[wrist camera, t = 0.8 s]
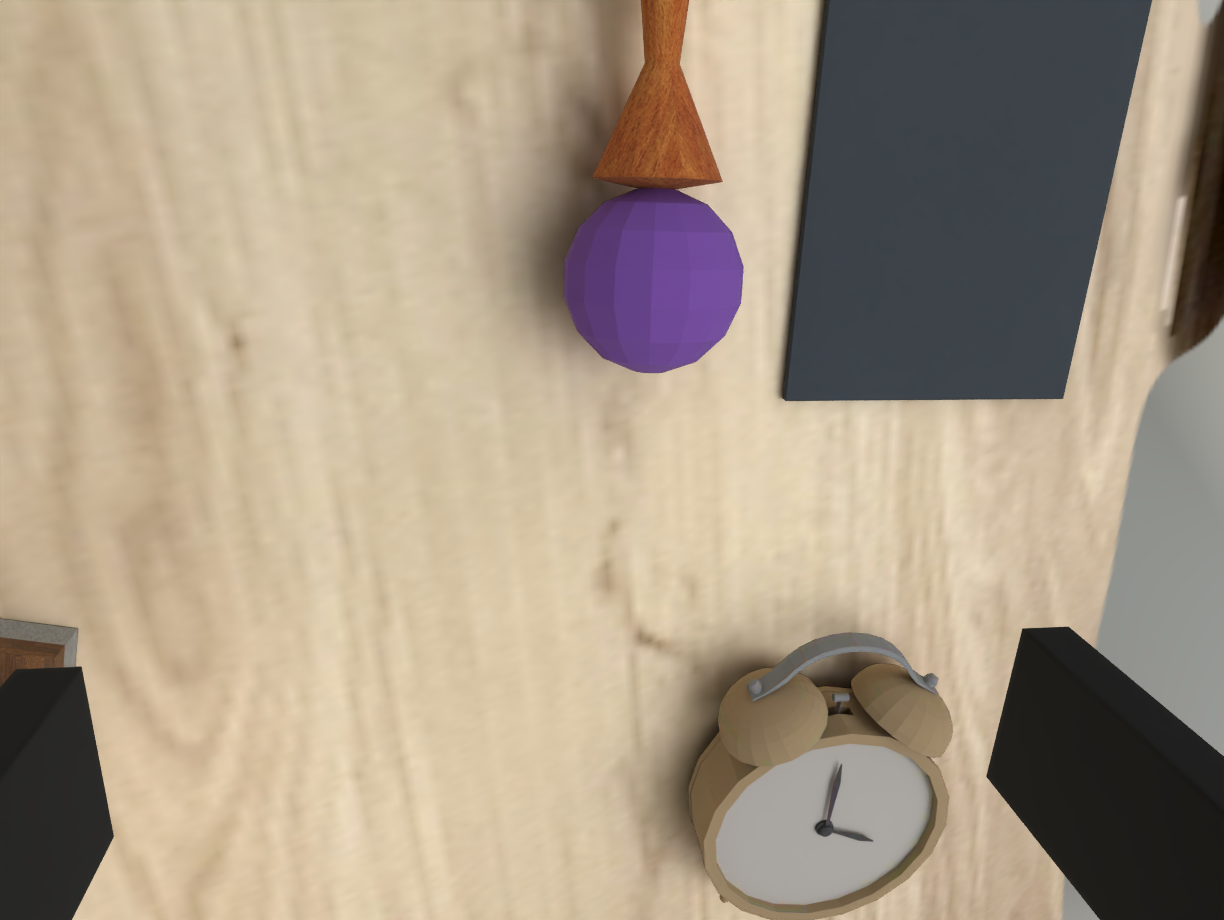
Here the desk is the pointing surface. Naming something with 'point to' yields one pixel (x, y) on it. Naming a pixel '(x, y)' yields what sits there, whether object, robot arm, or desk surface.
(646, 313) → the kendama
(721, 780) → the alarm clock
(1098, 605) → the desk surface
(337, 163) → the desk surface
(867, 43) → the mat
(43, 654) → the display case
